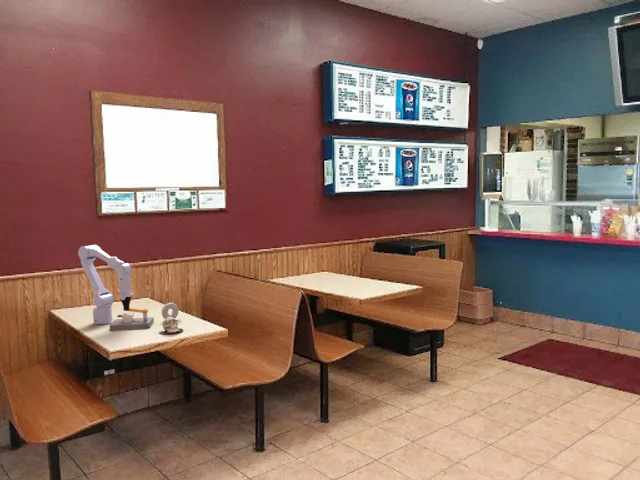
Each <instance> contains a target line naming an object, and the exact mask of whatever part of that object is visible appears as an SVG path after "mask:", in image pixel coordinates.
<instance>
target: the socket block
mask: <svg viewBox="0 0 640 480" xmlns="http://www.w3.org/2000/svg"><path fill="white" fill-rule="evenodd" d="M142 315H143V317H138V318H135V317H133V323H123V318H117V319H114V321H113V322H112V323H110V324H109V331H120V330H121V331H122V330H139V329H141V330H142V329H149V328H150V327H151V326H152V325H153V324H154V322H155V321H154V317H152V316H151V317H148V313H142Z"/></svg>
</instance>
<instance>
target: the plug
mask: <svg viewBox="0 0 640 480" xmlns="http://www.w3.org/2000/svg"><path fill="white" fill-rule="evenodd" d="M134 316H135V312H129V313H127V312H126V313H123V314H117V316H116V317H117V318H121V319H123V323H133V318H134Z"/></svg>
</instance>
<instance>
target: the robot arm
mask: <svg viewBox="0 0 640 480" xmlns="http://www.w3.org/2000/svg"><path fill="white" fill-rule="evenodd" d="M77 255H78V257H79V259H80V263H81V266H82V268H83V270H84V273H85V274H86V277H87V278H88V281H89V283H90V286H91V288H92V289H93V292H94V293H93V295H92V298H93V304H94V305H95V306H94V307H93V310H92V318H93V325H104V324H105V325H106V324H112V323H113V322H114V321H115V319H113V311H112V309H113V308H112V306H113V304H114V302H115V296H114V295H113V294H112V293H111V291H110V290H109V289H107V288H105V286H104V284H103V281H102V280H101V278H100V276H99V274H98V272H97V269H96V267H95V265H94V261H95V260H96V259H97V258H98V259H100V260H102V261H104V262H106V264H107V266H108V267H110V268H111V269H113V270H115V272H116V275H117V278H118V282H119V283H118V285H119V286H118V287H119V297H120V298H119V301H120V303H121V304H122V306H123V308H124V311H123V312H130V311H129V307H130V304H131V300H132V299H133V298H132V296H133V295H134V292H132V289H131V288H132V283H131V273H132V270H133V268H132V265H131V264H130V263H128V262H126V263H125V262H124V261H123V260H120V259H119V258H118V257H117V256H110V255H109V254H108V253H106V252H105V251H103V250H102V249H101V247H100V246H99V245H97V244H91V245H84V246H83V245H82V246H80V247H79V249H78V252H77Z"/></svg>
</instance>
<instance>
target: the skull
mask: <svg viewBox="0 0 640 480" xmlns="http://www.w3.org/2000/svg"><path fill="white" fill-rule="evenodd" d="M178 323H179V322H178V321H177V319H176V318H175V319H174V318H173V317H167V318H166V319H164V320H162V327H163V331H162V330H161V331H159V332H158V333H159V334H161V335H168V334H177V333H180V332H183V331H184V329H183V328H181V327H180V328H179V327H178V325H179V324H178Z"/></svg>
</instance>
